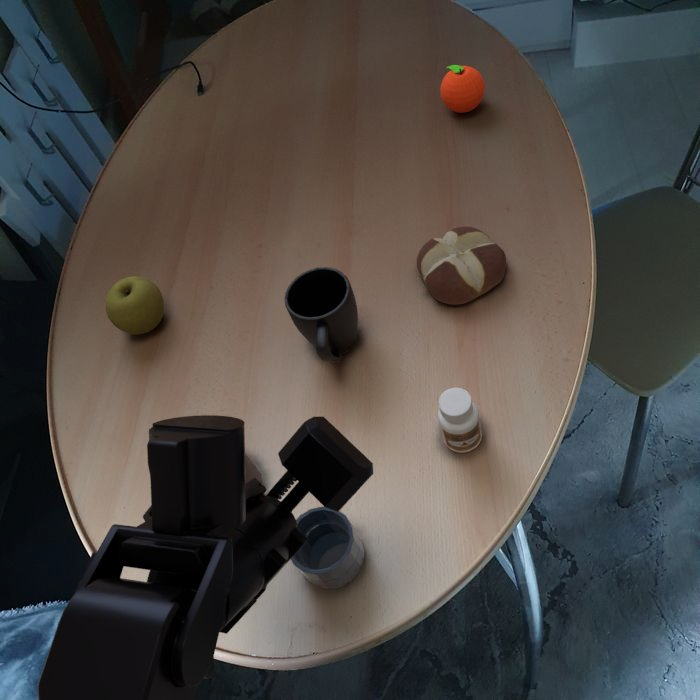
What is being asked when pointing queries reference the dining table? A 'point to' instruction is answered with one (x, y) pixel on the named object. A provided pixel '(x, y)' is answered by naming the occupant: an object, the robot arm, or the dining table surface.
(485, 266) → the bread
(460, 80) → the clementine
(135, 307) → the apple
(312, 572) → the blue cup
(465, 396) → the pill bottle
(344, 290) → the mug
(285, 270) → the dining table surface
